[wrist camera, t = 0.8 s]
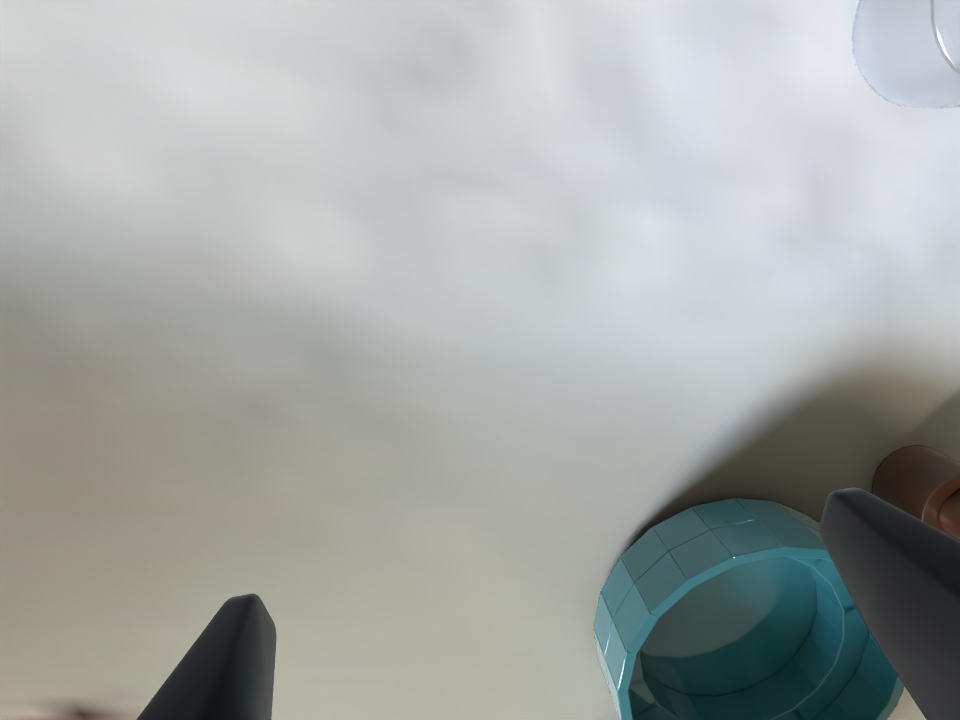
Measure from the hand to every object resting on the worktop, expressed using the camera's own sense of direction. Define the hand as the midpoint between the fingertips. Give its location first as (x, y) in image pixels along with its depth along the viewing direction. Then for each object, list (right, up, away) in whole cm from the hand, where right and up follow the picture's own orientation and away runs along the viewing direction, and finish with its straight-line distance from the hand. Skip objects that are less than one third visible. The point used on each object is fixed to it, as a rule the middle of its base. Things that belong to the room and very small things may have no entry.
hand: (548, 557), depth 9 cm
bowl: (+11, -10, +20) cm, 25 cm away
